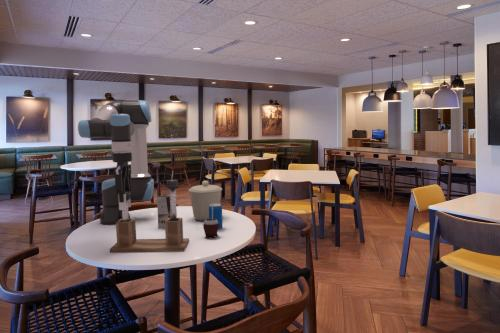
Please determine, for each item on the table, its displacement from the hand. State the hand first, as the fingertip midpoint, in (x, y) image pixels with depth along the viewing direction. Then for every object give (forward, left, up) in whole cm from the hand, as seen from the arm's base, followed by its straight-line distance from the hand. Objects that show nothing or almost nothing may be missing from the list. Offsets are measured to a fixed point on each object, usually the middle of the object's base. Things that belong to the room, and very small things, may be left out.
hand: (125, 208), depth 145 cm
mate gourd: (-13, +34, -17) cm, 40 cm away
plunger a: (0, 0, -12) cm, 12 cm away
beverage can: (-25, +35, -17) cm, 46 cm away
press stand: (0, +10, -17) cm, 19 cm away
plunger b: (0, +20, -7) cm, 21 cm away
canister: (-45, +28, -17) cm, 56 cm away
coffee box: (-31, +10, -17) cm, 37 cm away
